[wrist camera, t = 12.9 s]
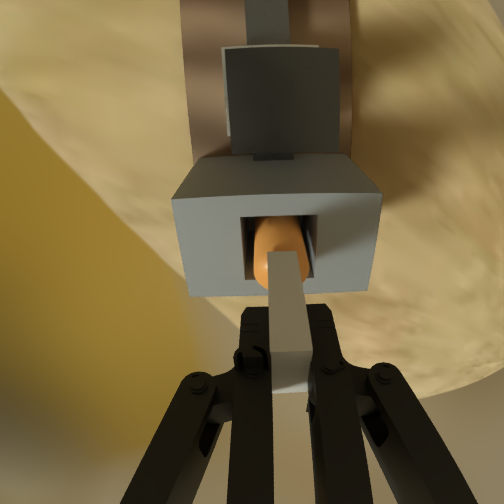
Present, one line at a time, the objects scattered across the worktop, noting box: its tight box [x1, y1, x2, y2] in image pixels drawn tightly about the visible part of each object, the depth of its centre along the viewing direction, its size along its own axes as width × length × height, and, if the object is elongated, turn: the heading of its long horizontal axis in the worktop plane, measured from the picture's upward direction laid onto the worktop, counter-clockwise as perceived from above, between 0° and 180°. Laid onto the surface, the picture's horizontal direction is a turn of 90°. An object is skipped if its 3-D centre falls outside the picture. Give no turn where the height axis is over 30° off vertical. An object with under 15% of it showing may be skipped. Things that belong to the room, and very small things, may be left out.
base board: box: [180, 0, 352, 165], centre depth 21 cm, size 31×13×1 cm, turn 3°
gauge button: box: [254, 215, 309, 289], centre depth 20 cm, size 3×3×8 cm
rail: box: [244, 0, 294, 161], centre depth 18 cm, size 22×3×2 cm, turn 3°
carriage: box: [221, 44, 340, 154], centre depth 15 cm, size 6×6×14 cm
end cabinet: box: [171, 153, 383, 297], centre depth 22 cm, size 7×12×9 cm, turn 93°
